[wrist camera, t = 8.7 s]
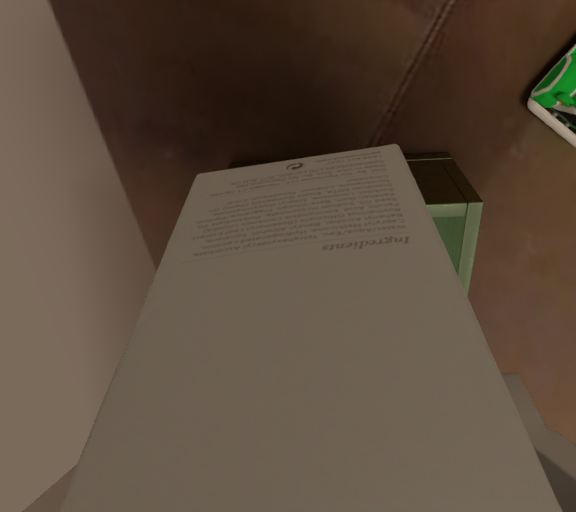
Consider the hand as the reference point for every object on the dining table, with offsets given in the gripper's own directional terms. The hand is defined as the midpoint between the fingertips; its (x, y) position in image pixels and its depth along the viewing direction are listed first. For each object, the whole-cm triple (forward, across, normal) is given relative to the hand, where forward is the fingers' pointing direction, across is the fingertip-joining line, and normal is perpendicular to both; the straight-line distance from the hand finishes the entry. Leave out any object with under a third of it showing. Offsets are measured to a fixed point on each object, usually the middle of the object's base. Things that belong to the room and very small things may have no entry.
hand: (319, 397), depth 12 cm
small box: (+5, 0, 0) cm, 5 cm away
